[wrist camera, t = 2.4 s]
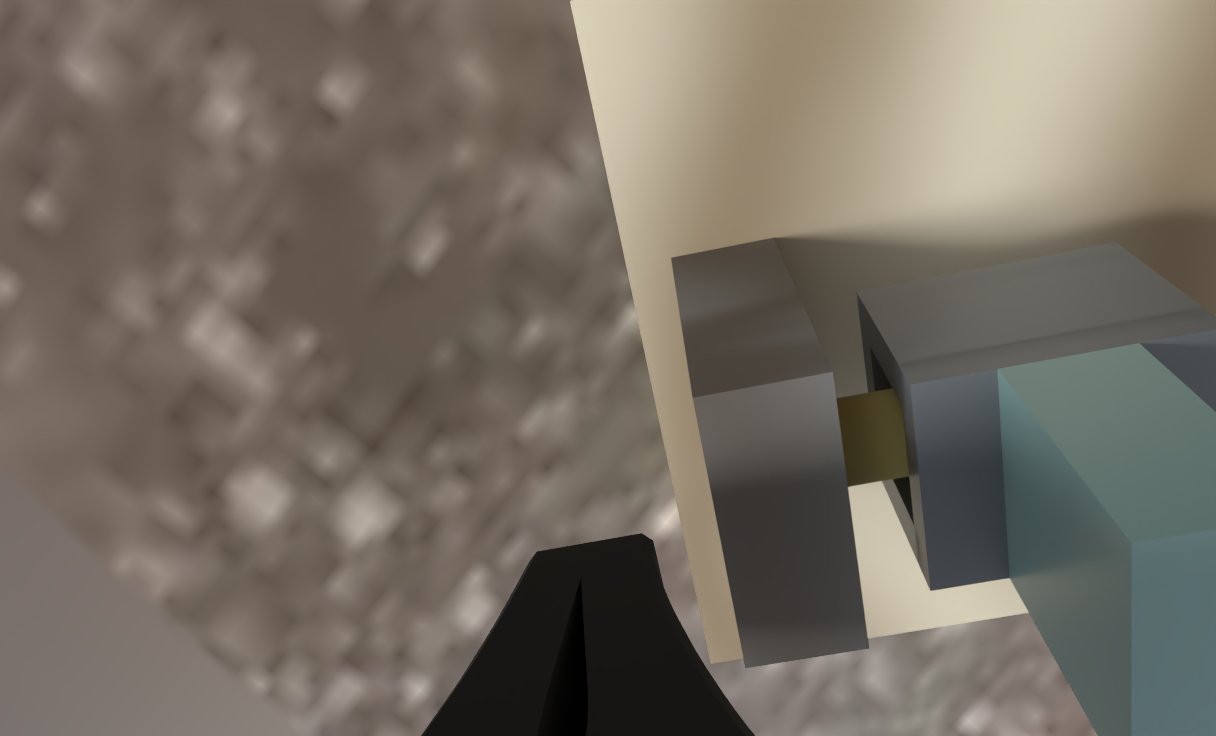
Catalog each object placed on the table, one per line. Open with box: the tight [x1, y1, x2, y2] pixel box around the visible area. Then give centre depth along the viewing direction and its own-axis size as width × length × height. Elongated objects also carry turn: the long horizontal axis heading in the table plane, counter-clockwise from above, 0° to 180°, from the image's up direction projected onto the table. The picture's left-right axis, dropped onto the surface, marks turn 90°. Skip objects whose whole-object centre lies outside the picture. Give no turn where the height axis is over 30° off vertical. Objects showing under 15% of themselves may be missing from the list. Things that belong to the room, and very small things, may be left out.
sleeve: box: [856, 242, 1216, 736], centre depth 13 cm, size 4×3×6 cm
